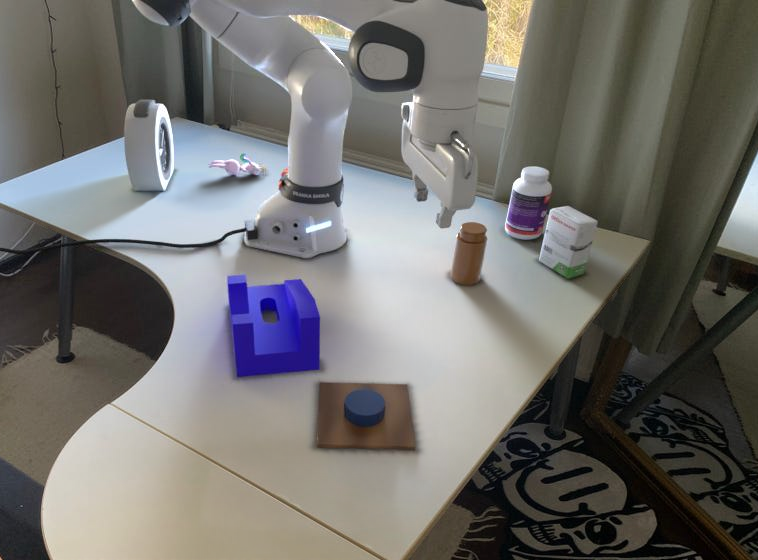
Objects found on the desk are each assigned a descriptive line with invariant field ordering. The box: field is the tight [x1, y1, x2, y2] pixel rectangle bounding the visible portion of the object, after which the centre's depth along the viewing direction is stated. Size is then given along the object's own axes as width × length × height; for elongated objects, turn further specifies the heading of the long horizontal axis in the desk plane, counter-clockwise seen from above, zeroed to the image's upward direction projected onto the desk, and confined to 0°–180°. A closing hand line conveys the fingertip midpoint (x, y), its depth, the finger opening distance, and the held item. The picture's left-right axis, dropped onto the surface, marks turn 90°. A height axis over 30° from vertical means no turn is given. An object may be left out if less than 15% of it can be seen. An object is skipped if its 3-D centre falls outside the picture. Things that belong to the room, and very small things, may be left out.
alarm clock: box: [123, 99, 175, 192], centre depth 167 cm, size 21×8×20 cm, turn 179°
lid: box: [344, 389, 385, 427], centre depth 100 cm, size 6×6×2 cm
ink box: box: [538, 205, 599, 280], centre depth 133 cm, size 9×5×12 cm, turn 26°
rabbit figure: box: [207, 153, 267, 176], centre depth 174 cm, size 6×6×15 cm
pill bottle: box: [504, 166, 553, 241], centre depth 144 cm, size 8×8×14 cm
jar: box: [450, 221, 488, 286], centre depth 130 cm, size 6×6×11 cm
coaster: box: [316, 381, 416, 451], centre depth 101 cm, size 14×14×1 cm
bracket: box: [226, 274, 321, 378], centre depth 114 cm, size 21×14×10 cm, turn 9°
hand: (431, 212), depth 102 cm, fingers open, 8 cm apart
